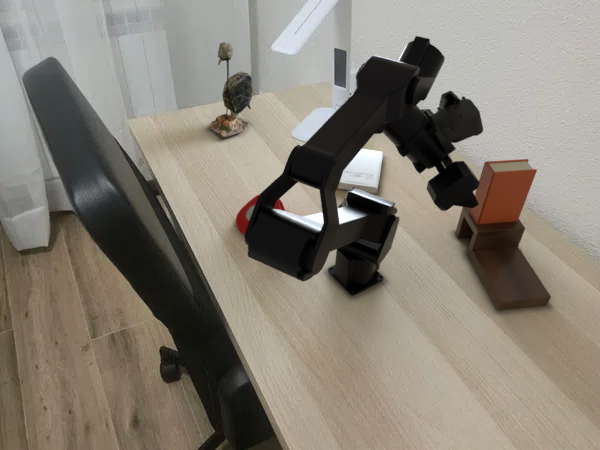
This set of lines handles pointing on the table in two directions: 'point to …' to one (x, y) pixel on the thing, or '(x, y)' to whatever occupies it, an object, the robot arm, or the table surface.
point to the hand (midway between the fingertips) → (464, 187)
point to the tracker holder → (247, 211)
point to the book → (502, 191)
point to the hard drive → (363, 172)
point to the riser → (502, 263)
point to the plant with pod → (232, 97)
